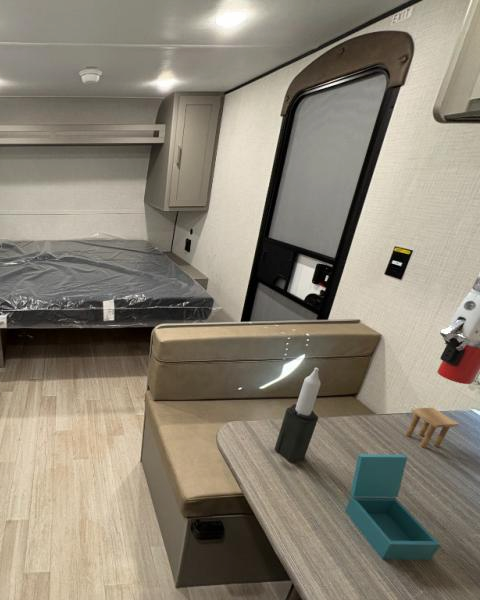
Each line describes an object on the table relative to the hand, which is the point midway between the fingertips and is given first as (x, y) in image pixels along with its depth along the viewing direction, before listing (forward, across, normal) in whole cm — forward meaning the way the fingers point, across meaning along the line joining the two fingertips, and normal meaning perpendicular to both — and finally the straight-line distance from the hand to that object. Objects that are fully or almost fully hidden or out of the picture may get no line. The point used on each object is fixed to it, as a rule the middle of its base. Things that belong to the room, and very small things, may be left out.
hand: (462, 362), depth 73 cm
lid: (+14, -30, -18) cm, 38 cm away
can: (+4, 0, 0) cm, 4 cm away
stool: (+24, 0, 0) cm, 24 cm away
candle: (+24, -37, -5) cm, 44 cm away
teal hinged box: (+24, -30, -23) cm, 45 cm away
